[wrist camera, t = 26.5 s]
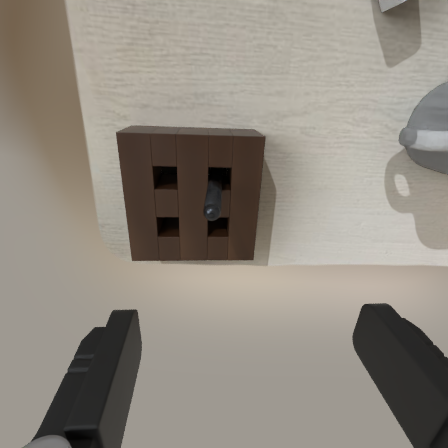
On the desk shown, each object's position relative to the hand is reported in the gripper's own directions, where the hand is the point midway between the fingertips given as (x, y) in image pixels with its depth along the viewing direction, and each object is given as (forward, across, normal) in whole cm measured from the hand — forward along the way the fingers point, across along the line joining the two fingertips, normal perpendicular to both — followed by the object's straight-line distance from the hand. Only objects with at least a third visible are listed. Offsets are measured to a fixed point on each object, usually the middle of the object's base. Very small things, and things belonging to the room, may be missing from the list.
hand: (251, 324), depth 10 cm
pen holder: (+25, +2, +3) cm, 25 cm away
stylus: (+25, 0, 0) cm, 25 cm away
